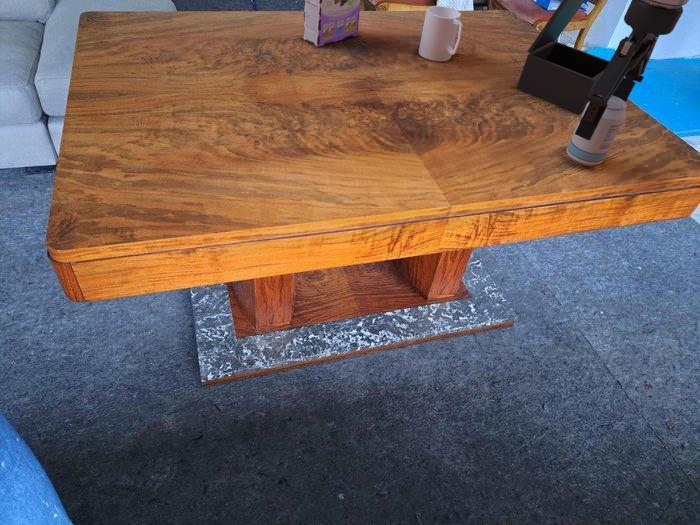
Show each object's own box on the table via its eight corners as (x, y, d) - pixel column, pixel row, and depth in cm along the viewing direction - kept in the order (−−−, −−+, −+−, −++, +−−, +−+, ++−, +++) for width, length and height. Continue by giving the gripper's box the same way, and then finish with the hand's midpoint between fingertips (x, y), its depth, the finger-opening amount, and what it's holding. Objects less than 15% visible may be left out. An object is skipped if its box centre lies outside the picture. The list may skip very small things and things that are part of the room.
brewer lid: (606, -28, 107) (574, -53, 109) (579, -18, 99) (546, -44, 101) (556, 39, 120) (529, 17, 122) (529, 53, 112) (500, 29, 114)
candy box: (342, 28, 134) (348, -42, 122) (358, 36, 131) (365, -35, 119) (302, 39, 126) (304, -35, 114) (317, 47, 123) (321, -28, 112)
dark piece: (602, 96, 119) (618, 64, 114) (578, 114, 111) (594, 80, 106) (542, 72, 126) (554, 40, 120) (516, 88, 118) (527, 54, 112)
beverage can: (572, 145, 101) (598, 88, 93) (605, 159, 99) (635, 102, 90) (558, 158, 97) (584, 100, 89) (593, 173, 94) (623, 115, 86)
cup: (440, 69, 121) (449, 26, 114) (412, 49, 128) (419, 7, 121) (466, 65, 124) (478, 22, 117) (438, 45, 131) (447, 4, 124)
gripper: (658, 25, 69) (589, 157, 84) (706, -6, 83) (640, 111, 98) (606, 7, 72) (548, 138, 87) (660, -20, 87) (603, 96, 102)
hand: (597, 124), depth 93 cm, fingers open, 13 cm apart
